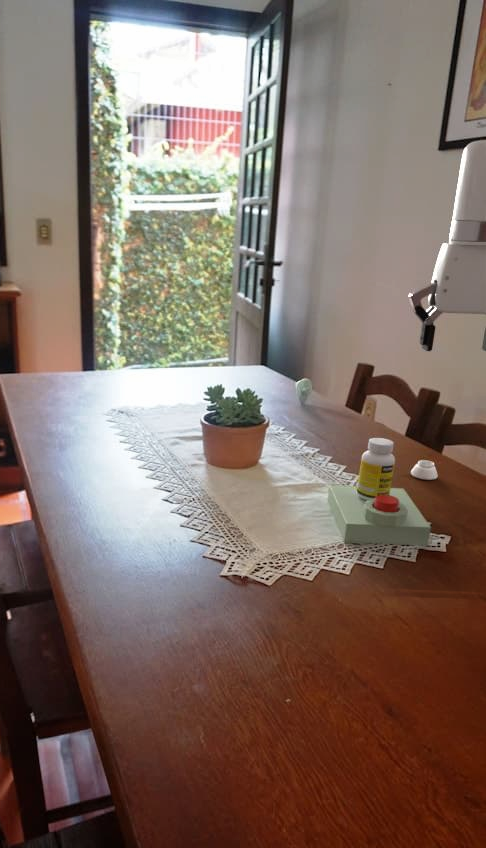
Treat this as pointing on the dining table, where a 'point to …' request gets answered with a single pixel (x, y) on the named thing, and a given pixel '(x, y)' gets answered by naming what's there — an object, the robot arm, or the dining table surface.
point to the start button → (386, 503)
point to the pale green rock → (303, 390)
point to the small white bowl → (424, 470)
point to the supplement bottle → (376, 469)
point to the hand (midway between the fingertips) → (456, 350)
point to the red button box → (377, 518)
